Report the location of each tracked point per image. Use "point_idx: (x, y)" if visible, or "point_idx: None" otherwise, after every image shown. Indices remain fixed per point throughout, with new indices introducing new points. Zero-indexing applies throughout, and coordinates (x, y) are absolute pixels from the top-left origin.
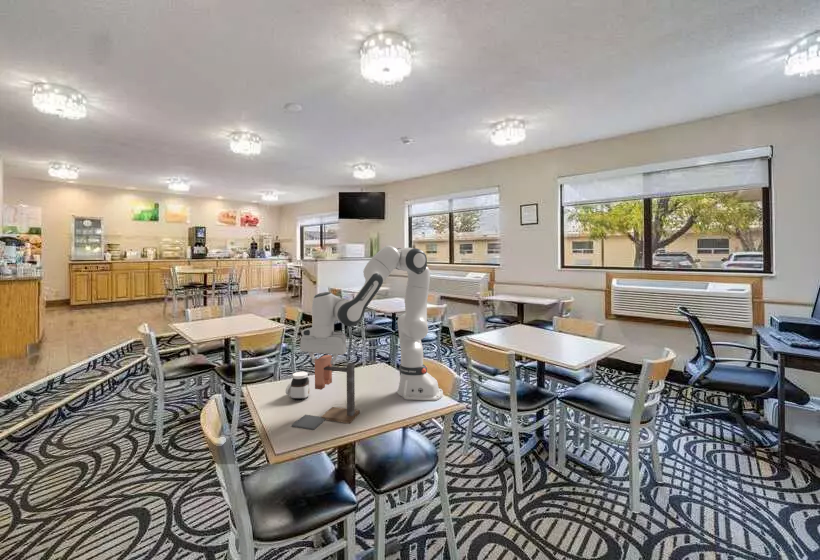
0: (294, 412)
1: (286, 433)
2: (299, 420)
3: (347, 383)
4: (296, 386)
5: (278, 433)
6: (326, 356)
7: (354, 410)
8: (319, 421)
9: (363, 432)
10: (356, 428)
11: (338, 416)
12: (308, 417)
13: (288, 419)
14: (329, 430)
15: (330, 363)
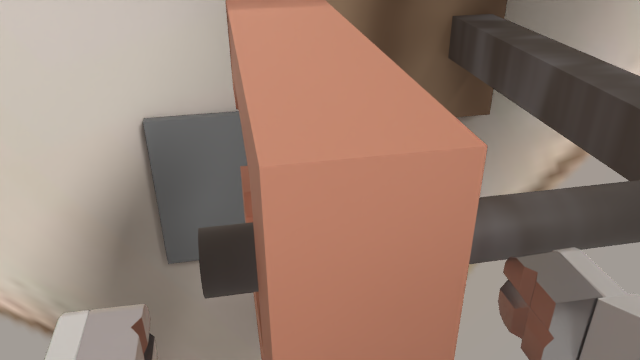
0: (18, 98)
1: (200, 315)
2: (171, 204)
3: (603, 156)
4: None
5: (160, 330)
6: (384, 292)
7: (504, 21)
8: None
9: (575, 169)
10: (531, 146)
11: None
12: (198, 152)
13: (75, 199)
14: None
15: (509, 325)
